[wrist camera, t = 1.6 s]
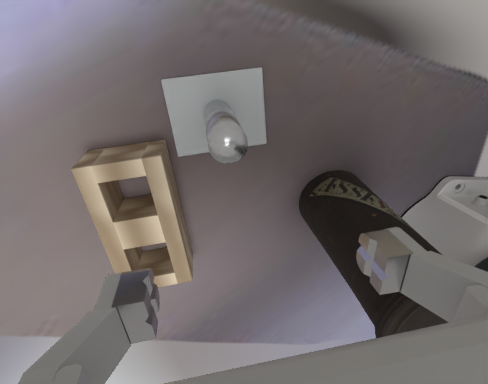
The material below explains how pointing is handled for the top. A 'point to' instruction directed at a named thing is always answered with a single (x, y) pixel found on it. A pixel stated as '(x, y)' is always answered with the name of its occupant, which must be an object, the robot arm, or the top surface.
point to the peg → (224, 133)
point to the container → (346, 245)
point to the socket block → (137, 210)
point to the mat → (206, 90)
